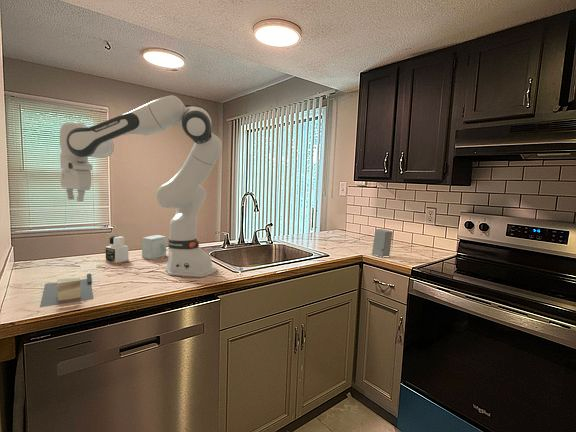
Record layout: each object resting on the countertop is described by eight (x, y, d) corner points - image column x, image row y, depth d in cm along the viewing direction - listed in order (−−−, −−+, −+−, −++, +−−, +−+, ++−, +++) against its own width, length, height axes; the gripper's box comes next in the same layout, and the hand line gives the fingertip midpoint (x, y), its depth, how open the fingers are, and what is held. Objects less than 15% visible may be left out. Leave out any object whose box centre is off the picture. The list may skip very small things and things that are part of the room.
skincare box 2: (371, 255, 187) (373, 228, 185) (379, 253, 191) (381, 228, 189) (382, 258, 180) (385, 231, 178) (390, 257, 184) (393, 230, 182)
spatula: (96, 266, 142) (96, 263, 142) (99, 282, 118) (99, 278, 118) (80, 267, 139) (80, 264, 139) (79, 284, 114) (79, 280, 114)
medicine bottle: (105, 261, 149) (104, 236, 148) (119, 258, 155) (119, 234, 154) (114, 263, 146) (114, 238, 144) (128, 260, 152) (128, 236, 151)
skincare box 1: (151, 259, 155) (150, 238, 154) (141, 257, 158) (141, 237, 157) (166, 255, 165) (166, 235, 164) (157, 253, 167) (157, 234, 166)
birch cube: (57, 283, 99) (58, 301, 100) (80, 280, 103) (80, 297, 103) (57, 278, 104) (57, 295, 104) (78, 275, 107) (79, 292, 108)
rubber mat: (45, 284, 115) (45, 283, 115) (90, 279, 123) (90, 278, 122) (39, 308, 95) (39, 307, 95) (93, 300, 103) (93, 298, 103)
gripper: (55, 164, 125) (56, 198, 127) (75, 164, 113) (76, 202, 115) (73, 165, 130) (74, 198, 132) (94, 165, 118) (95, 202, 120)
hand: (75, 200), depth 123 cm, fingers open, 8 cm apart
